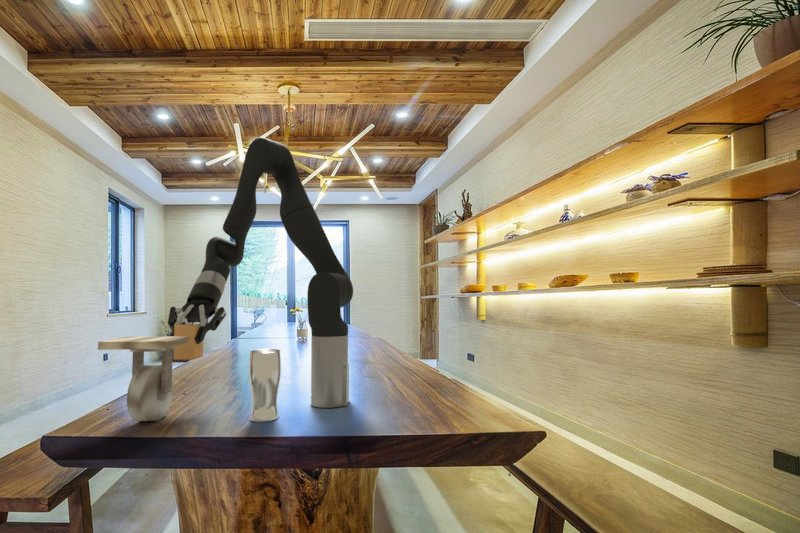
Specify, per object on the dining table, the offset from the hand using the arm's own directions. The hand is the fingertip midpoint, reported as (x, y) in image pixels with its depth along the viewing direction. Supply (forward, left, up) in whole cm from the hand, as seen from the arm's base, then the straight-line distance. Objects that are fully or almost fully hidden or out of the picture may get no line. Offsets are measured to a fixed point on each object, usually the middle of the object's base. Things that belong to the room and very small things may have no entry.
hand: (185, 341), depth 105 cm
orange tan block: (0, -2, -4) cm, 5 cm away
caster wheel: (+4, +7, -16) cm, 18 cm away
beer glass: (-21, +7, -17) cm, 28 cm away
